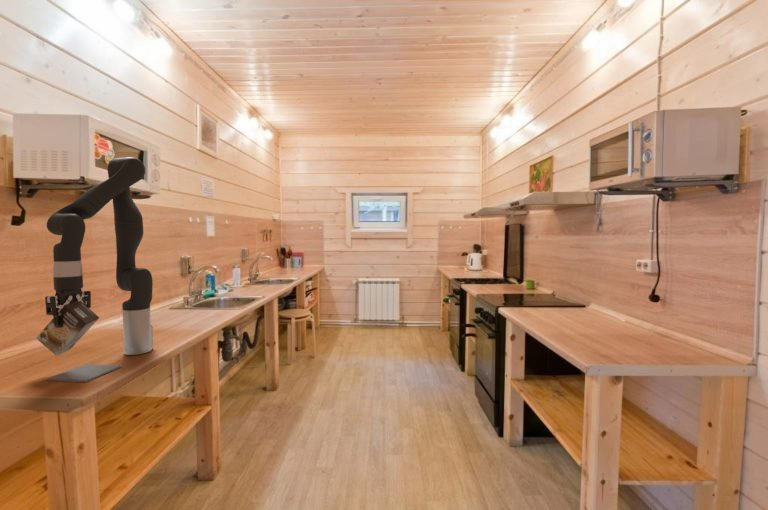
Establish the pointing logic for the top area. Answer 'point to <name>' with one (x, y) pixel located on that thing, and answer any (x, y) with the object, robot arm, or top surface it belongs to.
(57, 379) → the mat
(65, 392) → the top surface
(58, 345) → the coffee box
